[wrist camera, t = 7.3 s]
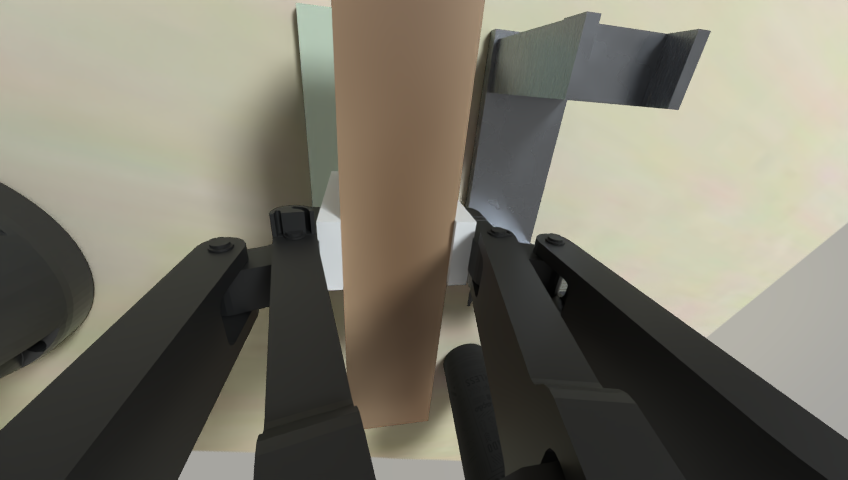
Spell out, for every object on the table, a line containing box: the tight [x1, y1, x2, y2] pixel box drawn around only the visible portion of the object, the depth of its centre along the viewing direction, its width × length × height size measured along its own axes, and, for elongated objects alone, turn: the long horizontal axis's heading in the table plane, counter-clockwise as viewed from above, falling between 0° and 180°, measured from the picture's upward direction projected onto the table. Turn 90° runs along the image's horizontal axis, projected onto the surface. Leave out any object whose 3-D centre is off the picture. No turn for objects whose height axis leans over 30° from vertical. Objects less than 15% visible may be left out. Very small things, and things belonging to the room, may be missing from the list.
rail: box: [331, 0, 485, 429], centre depth 14 cm, size 4×20×6 cm, turn 175°
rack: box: [465, 12, 711, 296], centre depth 20 cm, size 6×18×10 cm, turn 175°
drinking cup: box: [444, 344, 505, 480], centre depth 24 cm, size 8×8×20 cm
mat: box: [296, 3, 338, 207], centre depth 22 cm, size 9×18×1 cm, turn 175°
